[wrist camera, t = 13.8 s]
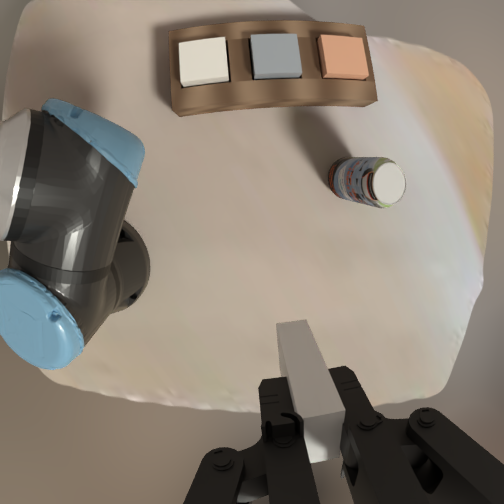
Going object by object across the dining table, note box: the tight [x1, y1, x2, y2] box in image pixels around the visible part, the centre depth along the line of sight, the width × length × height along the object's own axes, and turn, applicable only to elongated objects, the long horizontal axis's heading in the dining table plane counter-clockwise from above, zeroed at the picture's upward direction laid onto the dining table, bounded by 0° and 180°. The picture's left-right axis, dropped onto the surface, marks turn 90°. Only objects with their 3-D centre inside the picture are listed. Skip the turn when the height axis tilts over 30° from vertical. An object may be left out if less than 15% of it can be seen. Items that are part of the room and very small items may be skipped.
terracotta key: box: [316, 35, 369, 81], centre depth 34 cm, size 6×6×4 cm
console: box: [169, 20, 378, 117], centre depth 36 cm, size 27×12×5 cm, turn 95°
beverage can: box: [328, 157, 406, 208], centre depth 37 cm, size 6×7×12 cm
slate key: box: [250, 34, 302, 80], centre depth 34 cm, size 6×6×4 cm
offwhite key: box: [179, 37, 229, 88], centre depth 34 cm, size 6×6×4 cm
